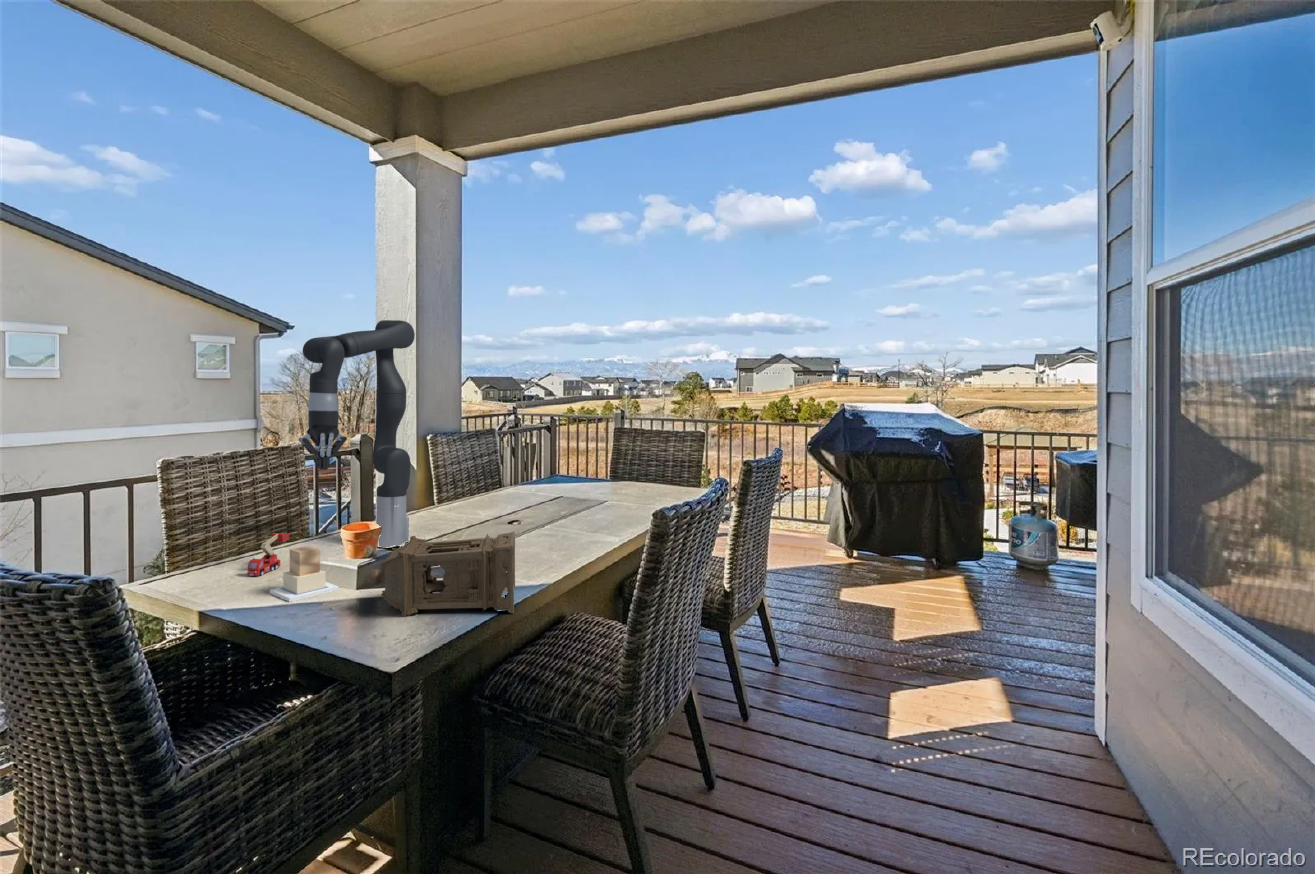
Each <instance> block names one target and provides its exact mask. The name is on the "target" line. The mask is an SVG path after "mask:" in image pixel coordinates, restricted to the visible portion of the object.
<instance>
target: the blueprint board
mask: <svg viewBox="0 0 1315 874" xmlns="http://www.w3.org/2000/svg"><path fill="white" fill-rule="evenodd" d="M282 574H283V575H282V577H283V579H282V580H283V581H282V586H280V587H275V588H271V589H269V594H270V595H272V596H275V597H277V596H278V597H277V598H279V597H280V598H279V599H282V600H283V601H286V600H287V602H288V601H289V602H288V603H292V602H296V600H297V601H300V600H305V599H309V598H312V597H316V596H321V595H324V594H327V593H328V594H329V593H333V592H337V591H339V586H338V585H336V584H333V583H330V582H327V581H326V580H327V579H326V577H327V574H326V571H325V570H321V569H320V572H318V573H313V574H308V575H304V576H297V575H295V574H292V573H290V570H289V571H285V572H282ZM291 601H292V602H291Z"/></svg>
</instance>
